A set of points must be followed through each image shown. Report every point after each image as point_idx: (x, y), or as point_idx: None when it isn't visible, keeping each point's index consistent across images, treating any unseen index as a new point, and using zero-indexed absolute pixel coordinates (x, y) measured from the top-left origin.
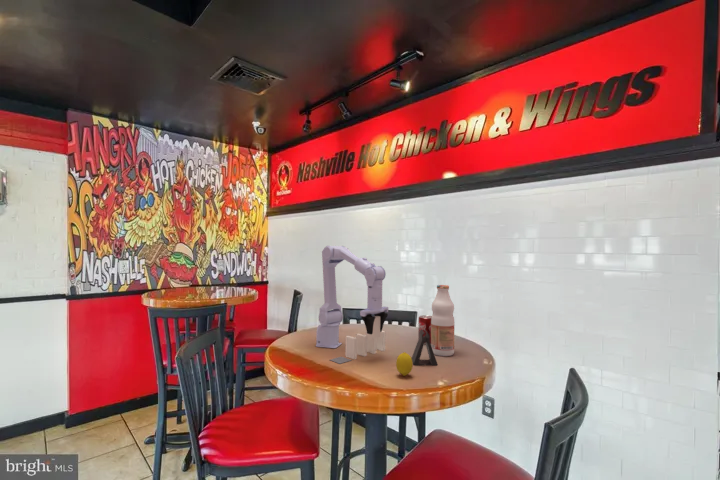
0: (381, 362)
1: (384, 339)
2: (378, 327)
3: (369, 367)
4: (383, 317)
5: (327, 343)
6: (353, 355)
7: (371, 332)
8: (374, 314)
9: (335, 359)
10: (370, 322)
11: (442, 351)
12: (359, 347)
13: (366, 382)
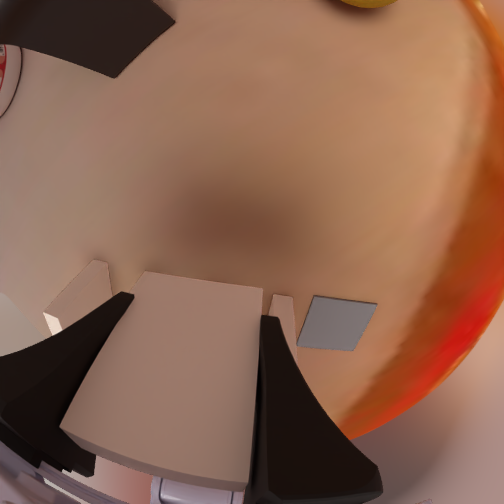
0: (245, 167)
1: (70, 289)
2: (141, 336)
3: (354, 176)
4: (34, 389)
5: None
6: (293, 310)
7: (280, 326)
8: (93, 467)
9: (340, 340)
10: (334, 427)
11: (9, 48)
12: None
13: (486, 110)
